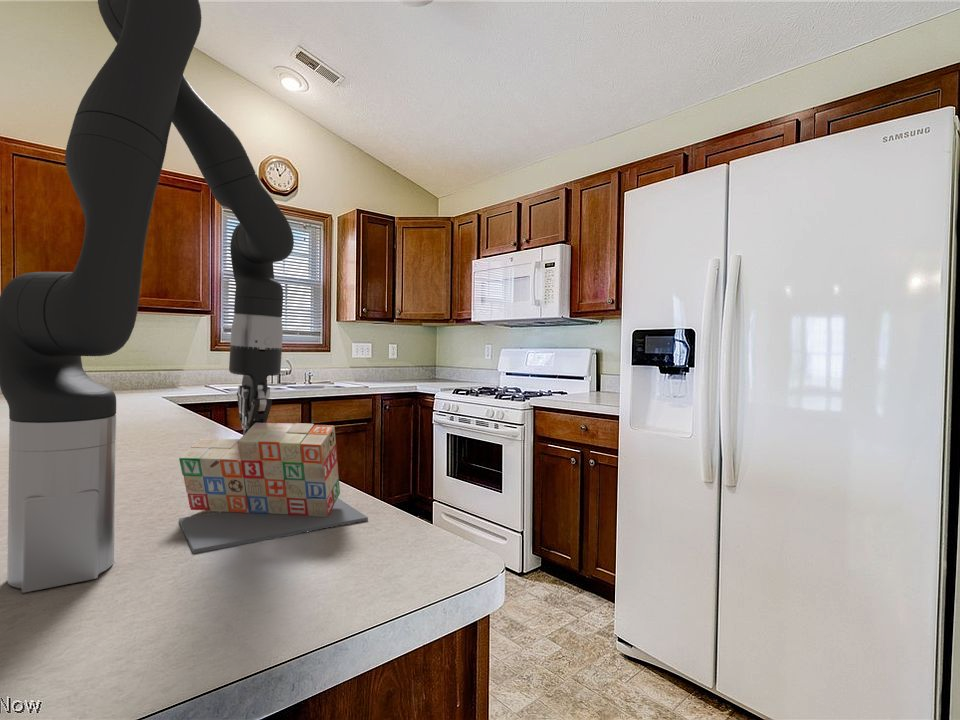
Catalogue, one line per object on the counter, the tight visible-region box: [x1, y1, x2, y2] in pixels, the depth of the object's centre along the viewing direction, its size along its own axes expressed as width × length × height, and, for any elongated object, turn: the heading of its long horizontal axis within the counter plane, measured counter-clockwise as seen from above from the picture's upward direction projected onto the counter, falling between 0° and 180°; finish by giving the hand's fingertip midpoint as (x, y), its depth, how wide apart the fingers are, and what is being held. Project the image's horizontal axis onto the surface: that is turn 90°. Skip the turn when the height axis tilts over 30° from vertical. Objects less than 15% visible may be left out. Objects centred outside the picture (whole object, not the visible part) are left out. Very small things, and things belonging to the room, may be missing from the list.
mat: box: [178, 497, 369, 554], centre depth 76 cm, size 14×23×1 cm, turn 127°
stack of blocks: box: [178, 422, 341, 517], centre depth 78 cm, size 21×6×12 cm, turn 88°
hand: (250, 452), depth 82 cm, fingers closed
